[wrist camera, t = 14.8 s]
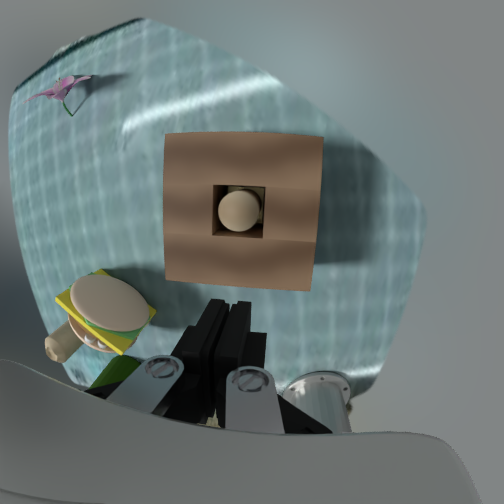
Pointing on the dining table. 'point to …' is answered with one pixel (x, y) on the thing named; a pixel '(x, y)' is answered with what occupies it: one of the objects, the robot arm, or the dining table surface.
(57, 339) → the candle
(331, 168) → the dining table surface
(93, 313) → the hamburger
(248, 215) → the maple peg
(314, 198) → the socket block
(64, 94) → the lily
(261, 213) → the tan square tile
